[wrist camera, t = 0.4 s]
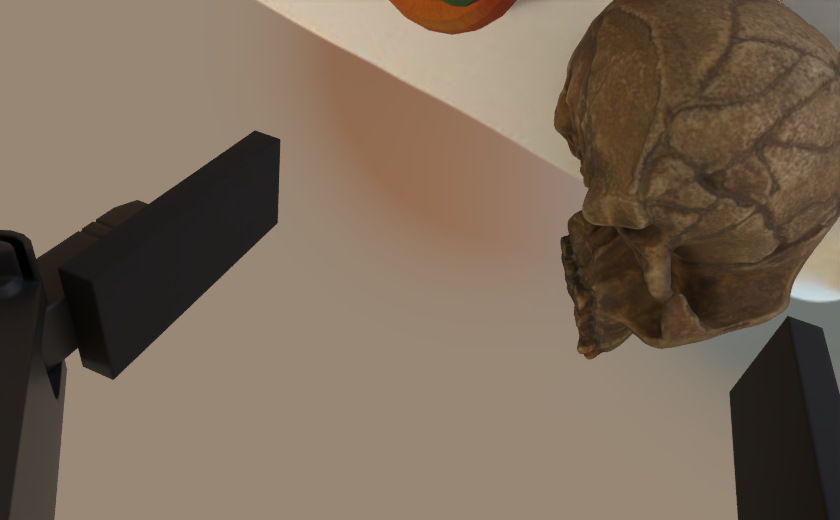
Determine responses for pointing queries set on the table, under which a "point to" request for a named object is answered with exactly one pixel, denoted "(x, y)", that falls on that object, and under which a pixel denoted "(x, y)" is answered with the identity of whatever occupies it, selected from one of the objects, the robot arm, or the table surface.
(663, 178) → the skull
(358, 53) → the table surface
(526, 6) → the table surface
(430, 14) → the fruit
